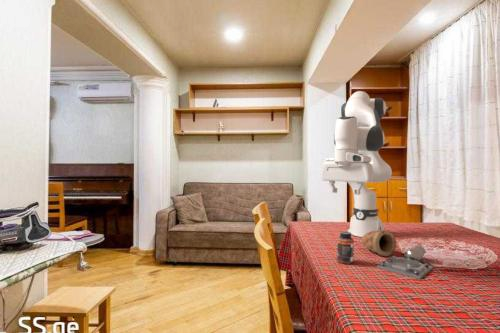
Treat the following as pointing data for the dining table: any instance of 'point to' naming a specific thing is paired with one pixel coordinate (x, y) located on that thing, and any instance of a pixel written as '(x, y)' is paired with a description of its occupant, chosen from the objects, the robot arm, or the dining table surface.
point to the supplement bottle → (345, 248)
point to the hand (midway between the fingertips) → (345, 193)
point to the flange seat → (407, 263)
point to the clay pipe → (380, 242)
